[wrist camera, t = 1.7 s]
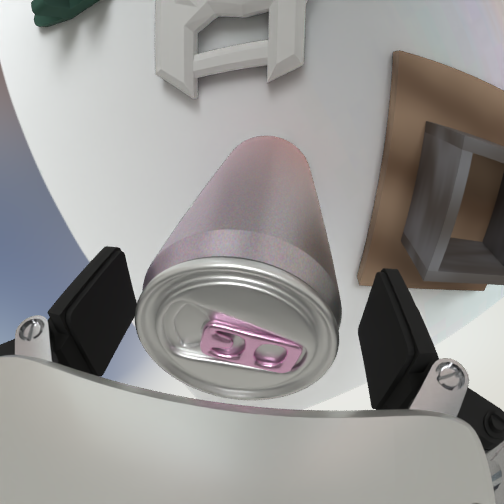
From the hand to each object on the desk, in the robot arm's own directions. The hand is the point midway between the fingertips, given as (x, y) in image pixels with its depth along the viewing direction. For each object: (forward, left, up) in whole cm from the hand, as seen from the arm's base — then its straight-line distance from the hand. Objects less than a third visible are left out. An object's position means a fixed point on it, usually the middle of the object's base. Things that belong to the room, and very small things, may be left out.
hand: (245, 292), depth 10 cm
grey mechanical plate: (-15, -2, -13) cm, 20 cm away
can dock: (-2, +15, -12) cm, 19 cm away
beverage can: (-1, 0, -12) cm, 12 cm away
